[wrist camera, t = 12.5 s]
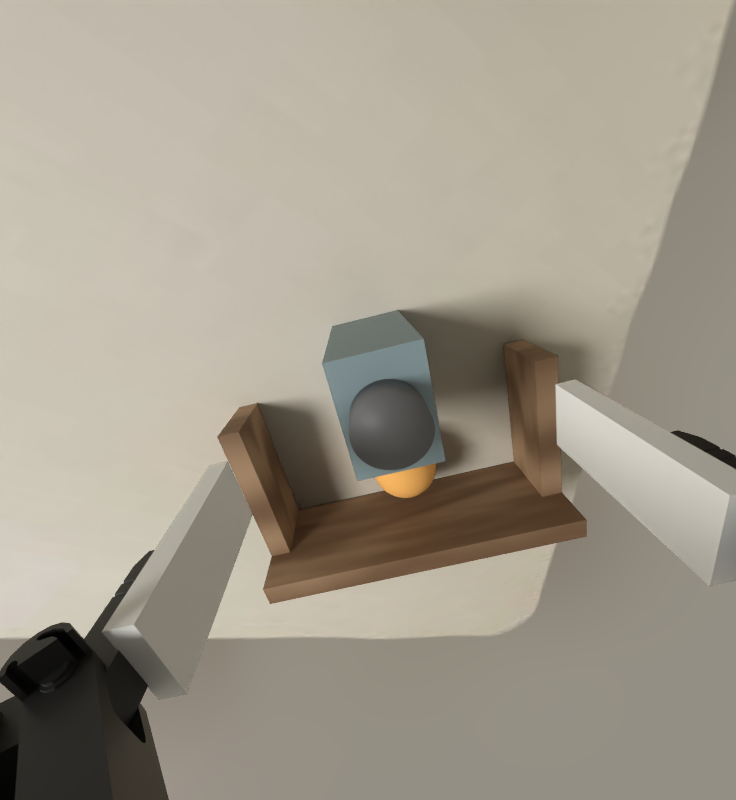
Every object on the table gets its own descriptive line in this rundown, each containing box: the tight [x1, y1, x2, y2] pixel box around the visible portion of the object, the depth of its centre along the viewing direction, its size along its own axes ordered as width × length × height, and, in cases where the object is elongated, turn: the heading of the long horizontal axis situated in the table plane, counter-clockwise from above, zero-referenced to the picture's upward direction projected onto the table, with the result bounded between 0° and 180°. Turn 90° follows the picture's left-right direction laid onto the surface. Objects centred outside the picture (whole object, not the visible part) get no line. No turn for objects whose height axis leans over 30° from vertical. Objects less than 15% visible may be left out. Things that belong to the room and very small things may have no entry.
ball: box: [375, 463, 436, 498], centre depth 28 cm, size 5×5×5 cm
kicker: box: [322, 310, 445, 481], centre depth 22 cm, size 7×5×12 cm
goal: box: [218, 339, 587, 604], centre depth 26 cm, size 12×23×8 cm, turn 103°
